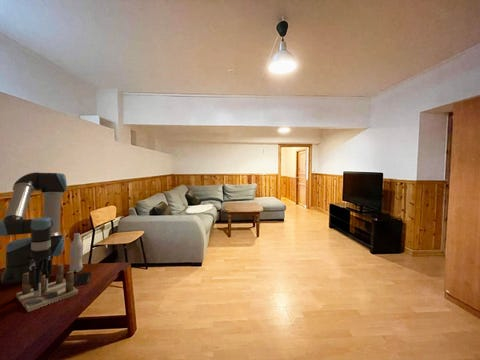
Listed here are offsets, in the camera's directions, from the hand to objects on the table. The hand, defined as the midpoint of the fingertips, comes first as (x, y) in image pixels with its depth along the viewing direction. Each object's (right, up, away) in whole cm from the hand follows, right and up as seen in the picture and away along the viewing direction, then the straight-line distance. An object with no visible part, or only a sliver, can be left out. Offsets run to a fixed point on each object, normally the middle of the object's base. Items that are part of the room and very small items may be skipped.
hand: (41, 293), depth 113 cm
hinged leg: (+3, -1, 0) cm, 3 cm away
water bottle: (-6, -2, +32) cm, 32 cm away
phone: (+6, -3, +22) cm, 23 cm away
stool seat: (+1, -3, +3) cm, 5 cm away
